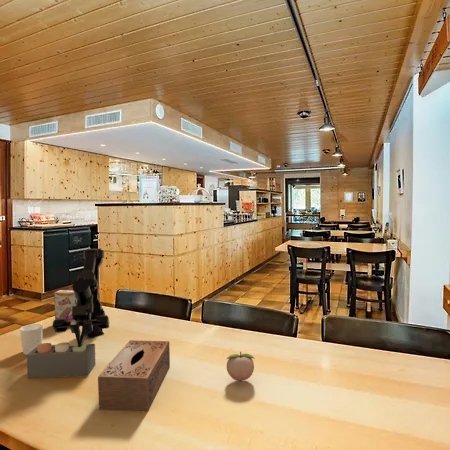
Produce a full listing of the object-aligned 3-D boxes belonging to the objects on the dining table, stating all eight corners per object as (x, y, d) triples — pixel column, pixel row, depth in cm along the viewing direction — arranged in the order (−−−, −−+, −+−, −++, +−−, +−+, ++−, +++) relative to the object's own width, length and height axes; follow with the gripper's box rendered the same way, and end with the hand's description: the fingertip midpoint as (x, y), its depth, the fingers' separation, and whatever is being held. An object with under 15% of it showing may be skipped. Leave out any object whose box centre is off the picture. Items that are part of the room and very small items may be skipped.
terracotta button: (41, 355, 121) (41, 343, 120) (54, 354, 121) (53, 342, 121) (35, 361, 116) (34, 348, 116) (48, 360, 116) (47, 347, 116)
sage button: (75, 356, 121) (75, 344, 121) (88, 356, 122) (88, 344, 121) (71, 362, 117) (70, 349, 117) (83, 362, 117) (83, 349, 117)
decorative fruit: (231, 390, 106) (230, 359, 106) (224, 377, 114) (223, 348, 113) (258, 386, 109) (258, 355, 108) (250, 373, 117) (250, 345, 116)
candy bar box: (54, 325, 164) (53, 292, 163) (60, 322, 169) (59, 289, 168) (76, 326, 163) (75, 292, 162) (82, 322, 168) (80, 290, 167)
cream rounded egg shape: (58, 354, 121) (58, 342, 121) (71, 354, 121) (70, 342, 121) (53, 360, 117) (52, 347, 116) (66, 360, 117) (65, 347, 116)
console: (39, 366, 123) (38, 345, 122) (95, 364, 124) (94, 343, 123) (27, 377, 115) (26, 355, 114) (87, 376, 116) (87, 353, 115)
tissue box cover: (130, 367, 122) (130, 340, 122) (169, 368, 121) (169, 341, 121) (98, 410, 97) (97, 376, 96) (148, 412, 96) (147, 378, 95)
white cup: (26, 357, 130) (25, 332, 129) (17, 352, 135) (16, 327, 134) (47, 350, 136) (46, 326, 136) (38, 345, 141) (37, 322, 140)
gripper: (52, 297, 121) (44, 339, 111) (107, 293, 125) (104, 334, 115) (59, 312, 129) (52, 352, 119) (110, 308, 133) (108, 347, 123)
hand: (79, 346), depth 119 cm, fingers closed, pressing on sage button
